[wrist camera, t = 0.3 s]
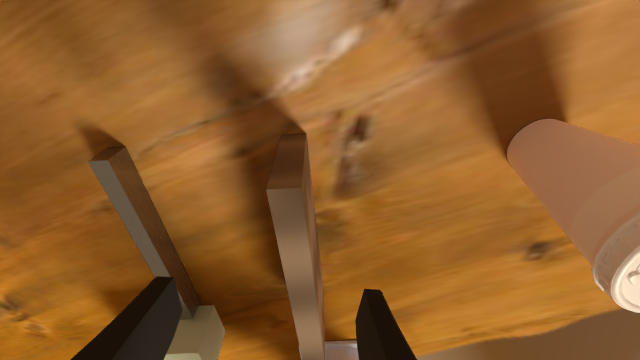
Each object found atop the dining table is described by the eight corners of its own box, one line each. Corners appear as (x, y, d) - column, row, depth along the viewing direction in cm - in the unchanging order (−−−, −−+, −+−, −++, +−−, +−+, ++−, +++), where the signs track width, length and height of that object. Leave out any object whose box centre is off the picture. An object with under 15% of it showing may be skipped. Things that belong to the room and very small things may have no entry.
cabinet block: (225, 329, 30) (212, 378, 26) (155, 333, 30) (131, 381, 26) (214, 303, 27) (198, 352, 24) (137, 307, 28) (109, 356, 24)
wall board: (323, 294, 26) (325, 365, 21) (306, 295, 26) (303, 366, 21) (306, 133, 18) (301, 187, 13) (280, 135, 18) (265, 189, 13)
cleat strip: (200, 301, 27) (193, 319, 25) (187, 301, 27) (179, 319, 25) (125, 146, 18) (107, 160, 17) (107, 148, 18) (87, 161, 17)
